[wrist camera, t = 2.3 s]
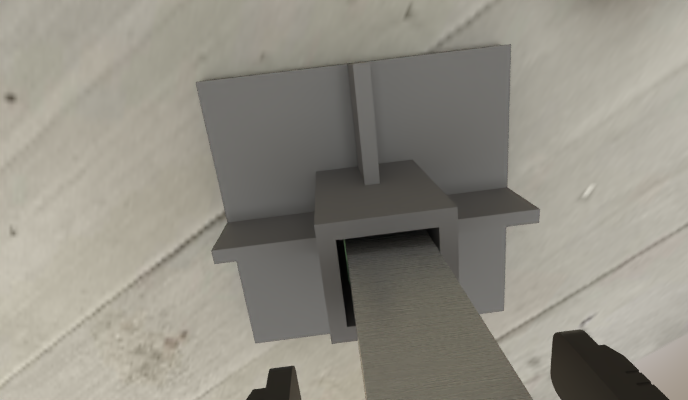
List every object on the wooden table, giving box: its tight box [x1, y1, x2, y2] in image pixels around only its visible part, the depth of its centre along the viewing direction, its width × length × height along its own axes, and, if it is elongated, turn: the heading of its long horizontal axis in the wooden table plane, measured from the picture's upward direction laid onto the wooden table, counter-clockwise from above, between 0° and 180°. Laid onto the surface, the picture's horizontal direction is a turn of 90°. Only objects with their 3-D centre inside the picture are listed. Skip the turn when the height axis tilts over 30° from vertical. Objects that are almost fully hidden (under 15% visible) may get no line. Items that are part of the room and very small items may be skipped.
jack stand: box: [196, 44, 540, 344], centre depth 21 cm, size 18×18×12 cm
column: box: [344, 229, 533, 400], centre depth 17 cm, size 4×4×17 cm
